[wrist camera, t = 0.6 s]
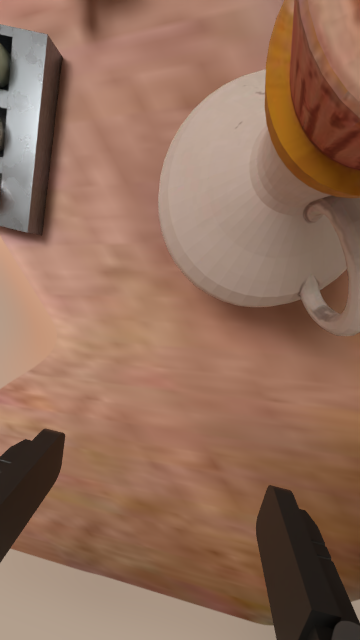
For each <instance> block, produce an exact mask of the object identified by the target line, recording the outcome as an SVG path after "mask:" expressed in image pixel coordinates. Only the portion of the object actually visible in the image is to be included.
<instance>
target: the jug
mask: <svg viewBox="0 0 360 640" xmlns="http://www.w3.org/2000/svg"><path fill="white" fill-rule="evenodd" d="M158 209H159V221H160V226H161V231H162V235H163V238H164V241H165V244H166V246H167V249H168V251H169V253H170V255H171V257H172V258H173V260H174V262H175V264H176V265H177V266H178V268H179V269H180V270H181V271H182V273H183V274H184V275H185V276H186V277H187V278H188V279H189V280H190V281H191V282H192V283H193V284H194V285H195V286H196V287H198V288H199V289H201V290H202V291H204V292H205V293H207V294H208V295H210V296H212V297H214V298H216V299H219V300H221V301H223V302H227V303H230V304H234V305H238V306H246V307H270V306H276V305H281V304H287V303H291V302H294V301H297V300H300V299H301V300H302V302H303V304H304V306H305V308H306V310H307V312H308V313H309V315H310V316H311V318H312V319H313V320H314V321H315V322H316V323H317V324H318V325H319V326H320V327H322V328H323V329H324V330H326V331H328V332H330V333H332V334H335V335H337V336H353V335H356V334H357V333H359V332H360V0H284V2H283V5H282V7H281V9H280V12H279V14H278V16H277V18H276V22H275V25H274V28H273V32H272V35H271V39H270V43H269V49H268V55H267V61H266V69H265V70H261V71H258V72H254V73H251V74H248V75H244V76H242V77H239V78H237V79H235V80H233V81H231V82H229V83H227V84H225V85H223V86H222V87H220V88H219V89H217V90H216V91H214V92H213V93H211V94H210V95H209V96H207V97H206V98H205V99H204V100H203V101H202V102H201V103H200V104H199V105H198V106H197V107H196V108H195V109H194V110H193V111H192V112H191V113H190V115H189V116H188V117H187V118H186V120H185V121H184V122H183V123H182V125H181V126H180V128H179V130H178V132H177V133H176V135H175V137H174V139H173V140H172V142H171V145H170V147H169V150H168V152H167V155H166V157H165V160H164V164H163V168H162V173H161V177H160V186H159V197H158ZM345 270H347V272H348V299H347V304H346V307H345V309H344V311H343V313H342V314H339V313H337V312H335V311H334V310H333V309H331V308H330V307H329V306H328V305H327V304H326V303H325V301H324V300H323V298H322V296H321V293H320V290H321V289H323V288H324V287H326V286H327V285H329V284H330V283H331V282H333V281H334V280H336V279H337V278H338V277H339V276H340V275H341V274H342V273H343V272H344V271H345Z"/></svg>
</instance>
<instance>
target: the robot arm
mask: <svg viewBox="0 0 360 640" xmlns="http://www.w3.org/2000/svg"><path fill="white" fill-rule="evenodd" d="M64 441H65V434H64V433H61V432H57V431H53V430H49V429H43V430H42V431H41V432H40V433H39V434H38V435H37V436H36V437H35V438H34V439H33V440H32V441H30V440H26V439H25V440H23V441H21V442H19V443H17V444H16V445H14V446H12V447H10V448H9V449H8V450H7V451H6V452H5V453H4V454H3V455H2V456H0V562H1V561H2V559H3V558H4V556H5V555H6V553H7V552H8V551H9V549H10V548H11V546H12V545H13V543H14V542H15V540H16V539H17V537H18V536H19V535H20V533H21V532H22V530H23V529H24V527H25V526H26V524H27V523H28V521H29V520H30V518H31V517H32V515H33V514H34V513H35V511H36V510H37V508H38V507H39V505H40V504H41V502H42V501H43V499H44V498H45V496H46V495H47V494H48V492H49V491H50V489H51V488H52V486H53V485H54V483H55V481H56V479H57V477H58V475H59V472H60V469H61V465H62V457H63V449H64ZM256 535H257V541H258V547H259V552H260V557H261V562H262V567H263V572H264V577H265V582H266V587H267V592H268V597H269V603H270V608H271V613H272V618H273V623H274V628H275V633H276V638H277V640H360V623H359V620H358V618H357V616H356V614H355V611H354V609H353V607H352V604H351V602H350V600H349V597H348V595H347V593H346V590H345V588H344V586H343V584H342V581H341V579H340V577H339V574H338V572H337V570H336V568H335V565H334V563H333V562H332V561H331V556H330V554H329V552H328V549H327V547H325V542H324V540H323V538H322V536H321V533H320V531H319V529H318V526H317V525H316V524H315V522H314V521H313V520H312V519H311V517H310V516H309V515H308V513H307V512H306V511H305V510H301V509H299V508H298V505H297V503H296V500H295V498H294V495H293V493H292V492H291V491H290V490H287V489H283V488H279V487H275V486H271V485H270V486H269V487H268V488H267V491H266V494H265V496H264V499H263V502H262V505H261V508H260V511H259V514H258V517H257V522H256Z"/></svg>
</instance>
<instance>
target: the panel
mask: <svg viewBox="0 0 360 640" xmlns="http://www.w3.org/2000/svg"><path fill="white" fill-rule="evenodd" d="M0 43H1V44H2V45H3V46H4V48H5V49H6V50H7V51H8V52H9V54H10V55H11V64H10V78H9V83H8V84H7V85H6V86H4V87H2V88H0V117H1V118H2V119H3V121H4V122H5V124H6V130H5V143H4V149H3V150H1V151H0V185H1V195H0V226H2V227H7V228H11V229H15V230H19V231H23V232H27V233H32V234H37V235H42V231H43V222H44V213H45V204H46V195H47V186H48V177H49V168H50V160H51V151H52V142H53V133H54V124H55V115H56V106H57V97H58V88H59V80H60V71H61V62H62V55H61V54H60V52H59V51H58V49H57V48H56V46H55V45H54V43H53V42H52V40H51V39H50V37H49V36H48V34H43V33H38V32H34V31H29V30H24V29H20V28H15V27H10V26H6V25H1V24H0Z"/></svg>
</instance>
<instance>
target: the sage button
mask: <svg viewBox="0 0 360 640" xmlns="http://www.w3.org/2000/svg"><path fill="white" fill-rule="evenodd" d="M10 64H11V55H10V54H9V52H8V51H7V50H6V49H5V48H4V46H3V45H2V44H1V43H0V88H2V87H4V86H6V85H7V84H8V83H9V78H10Z"/></svg>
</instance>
